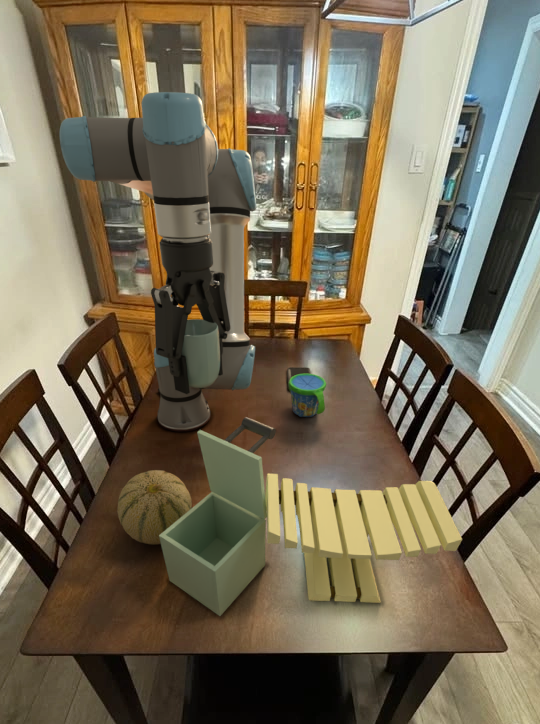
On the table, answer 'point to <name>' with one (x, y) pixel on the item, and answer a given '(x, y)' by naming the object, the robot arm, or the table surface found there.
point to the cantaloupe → (152, 505)
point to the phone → (296, 372)
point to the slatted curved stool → (356, 531)
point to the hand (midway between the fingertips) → (199, 381)
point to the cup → (201, 352)
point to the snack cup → (307, 394)
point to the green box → (214, 551)
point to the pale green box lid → (237, 467)
